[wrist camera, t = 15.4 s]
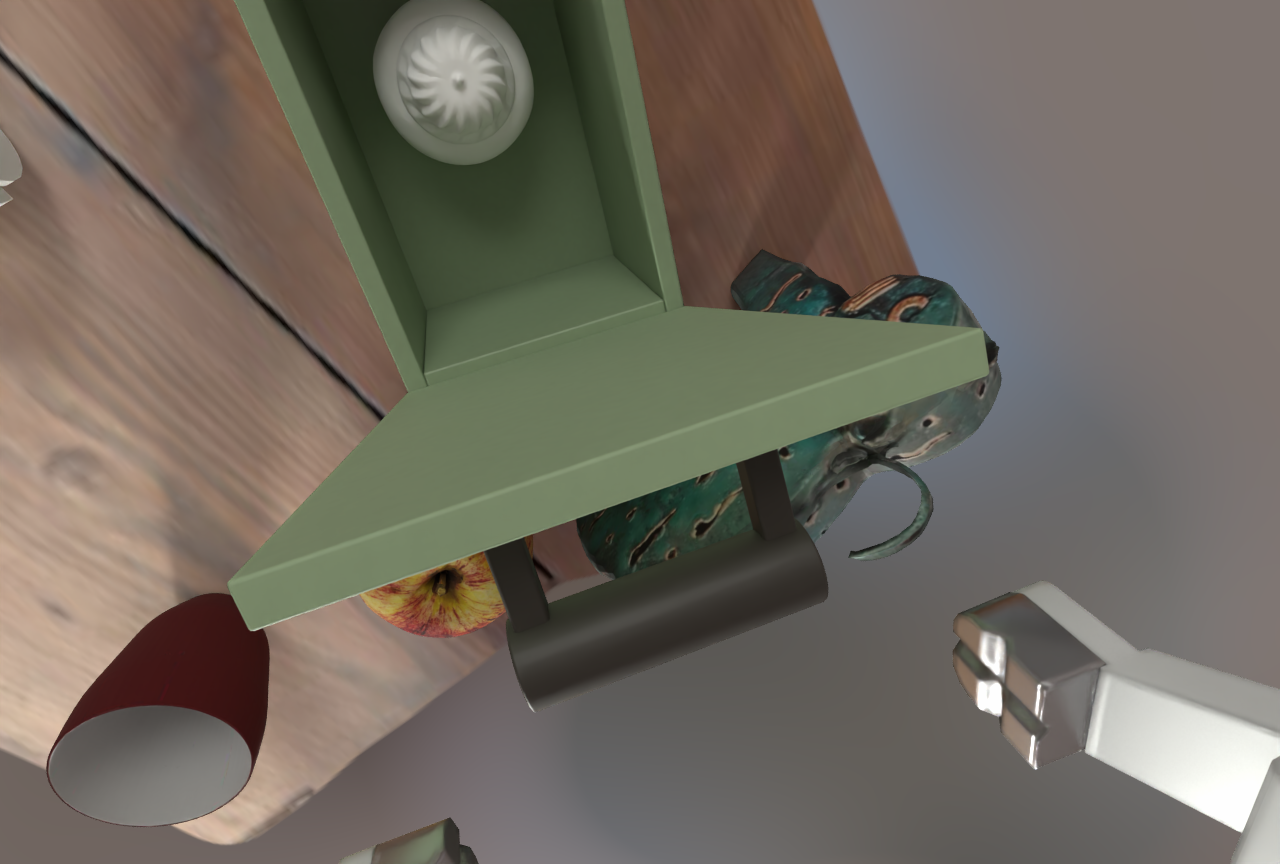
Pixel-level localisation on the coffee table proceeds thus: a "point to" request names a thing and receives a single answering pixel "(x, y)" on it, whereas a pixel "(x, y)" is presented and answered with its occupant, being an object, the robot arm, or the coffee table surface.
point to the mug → (168, 720)
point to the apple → (442, 598)
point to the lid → (605, 480)
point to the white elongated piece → (8, 167)
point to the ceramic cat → (818, 464)
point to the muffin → (453, 79)
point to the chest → (482, 187)
